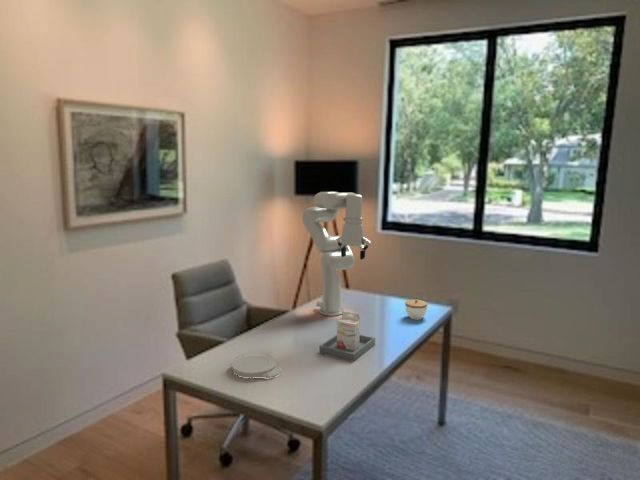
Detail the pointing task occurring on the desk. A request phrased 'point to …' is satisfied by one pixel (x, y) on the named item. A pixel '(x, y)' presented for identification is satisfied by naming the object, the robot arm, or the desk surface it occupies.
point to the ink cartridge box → (348, 331)
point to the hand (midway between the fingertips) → (352, 257)
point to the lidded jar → (415, 308)
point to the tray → (347, 354)
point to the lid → (256, 366)
